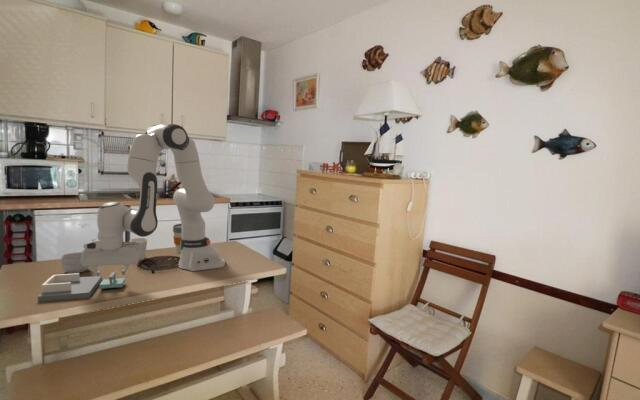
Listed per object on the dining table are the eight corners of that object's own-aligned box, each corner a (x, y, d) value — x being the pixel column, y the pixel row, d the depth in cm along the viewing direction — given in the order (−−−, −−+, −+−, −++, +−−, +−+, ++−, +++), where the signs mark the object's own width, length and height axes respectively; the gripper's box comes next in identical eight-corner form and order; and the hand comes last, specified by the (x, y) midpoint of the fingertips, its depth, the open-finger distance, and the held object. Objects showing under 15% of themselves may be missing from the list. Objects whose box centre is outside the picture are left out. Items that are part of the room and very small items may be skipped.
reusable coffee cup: (199, 248, 198) (199, 224, 196) (191, 255, 185) (191, 228, 183) (178, 247, 198) (178, 222, 196) (168, 254, 185) (168, 227, 183)
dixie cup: (130, 256, 178) (130, 238, 176) (148, 255, 181) (147, 237, 180) (129, 261, 170) (128, 242, 169) (147, 260, 174) (147, 241, 172)
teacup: (57, 272, 152) (56, 255, 151) (83, 265, 161) (82, 249, 160) (74, 278, 145) (73, 261, 144) (100, 271, 155) (99, 255, 154)
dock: (101, 280, 145) (101, 269, 145) (89, 297, 129) (88, 285, 128) (57, 283, 140) (56, 271, 139) (38, 301, 123) (37, 288, 122)
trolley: (125, 283, 143) (124, 271, 142) (122, 289, 138) (121, 276, 137) (103, 285, 140) (103, 272, 140) (99, 290, 135) (99, 277, 134)
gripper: (140, 239, 143) (140, 271, 144) (84, 241, 136) (84, 273, 137) (138, 243, 137) (138, 276, 139) (78, 245, 130) (79, 279, 132)
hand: (111, 275), depth 138 cm, fingers open, 8 cm apart
